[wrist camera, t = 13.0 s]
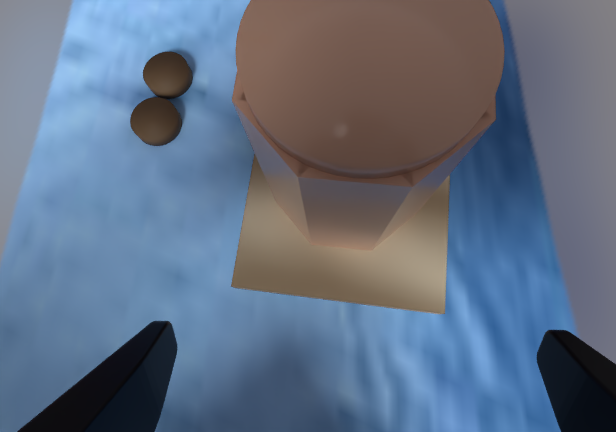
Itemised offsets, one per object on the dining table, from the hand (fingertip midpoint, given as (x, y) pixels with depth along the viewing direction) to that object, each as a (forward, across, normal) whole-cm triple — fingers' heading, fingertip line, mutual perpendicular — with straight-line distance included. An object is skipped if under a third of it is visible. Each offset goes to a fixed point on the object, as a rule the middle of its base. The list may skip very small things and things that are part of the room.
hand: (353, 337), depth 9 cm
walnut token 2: (+15, +10, -1) cm, 18 cm away
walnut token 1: (+17, +10, -3) cm, 20 cm away
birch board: (+12, 0, +2) cm, 12 cm away
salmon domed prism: (+11, 0, +1) cm, 11 cm away
